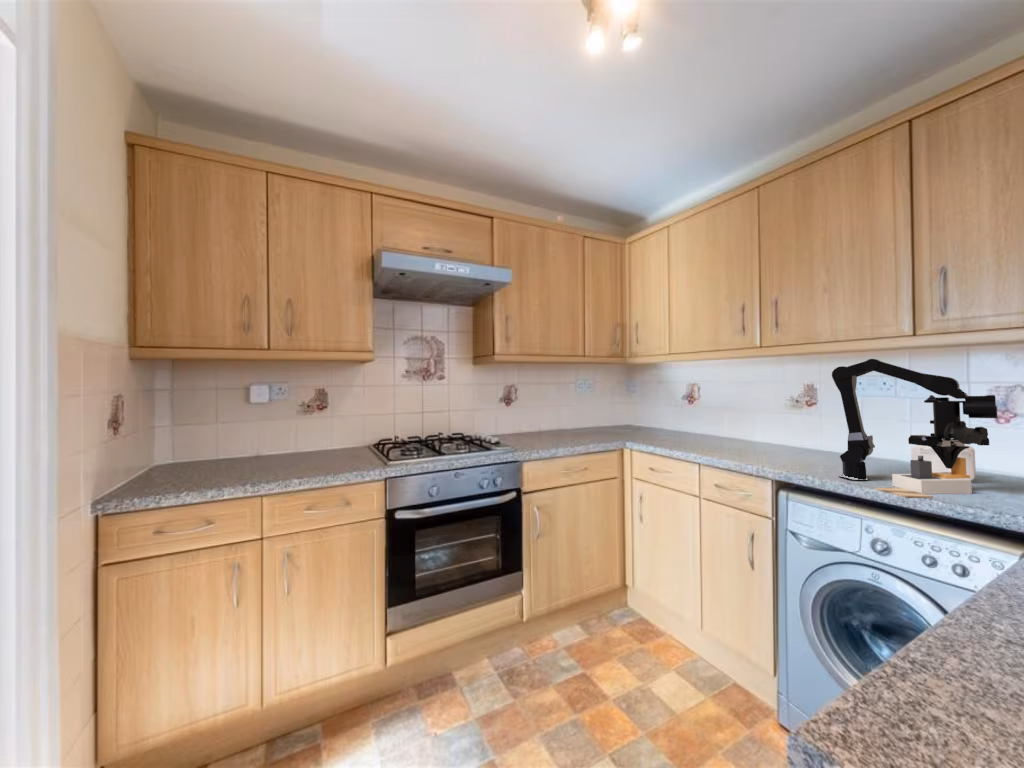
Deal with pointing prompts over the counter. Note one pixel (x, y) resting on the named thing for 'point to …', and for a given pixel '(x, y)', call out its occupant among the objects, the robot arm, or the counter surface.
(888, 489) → the cork pad
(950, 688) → the counter surface
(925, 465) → the plug
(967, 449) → the cable organizer
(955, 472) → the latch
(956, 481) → the white recessed block
